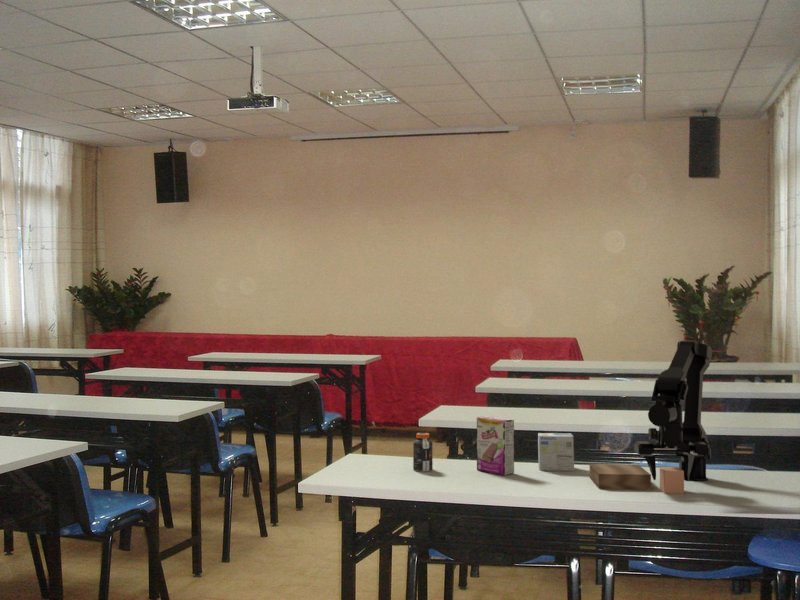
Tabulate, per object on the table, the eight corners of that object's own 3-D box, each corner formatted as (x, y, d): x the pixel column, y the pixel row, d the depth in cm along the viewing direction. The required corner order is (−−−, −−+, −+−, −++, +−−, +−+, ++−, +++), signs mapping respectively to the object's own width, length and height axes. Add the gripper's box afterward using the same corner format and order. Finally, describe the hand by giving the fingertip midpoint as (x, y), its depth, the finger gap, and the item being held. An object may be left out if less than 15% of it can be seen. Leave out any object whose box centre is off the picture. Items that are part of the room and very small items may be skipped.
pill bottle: (433, 472, 235) (433, 434, 235) (413, 472, 235) (413, 434, 235) (432, 468, 241) (431, 431, 241) (412, 468, 241) (412, 431, 241)
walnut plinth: (638, 478, 225) (638, 464, 225) (651, 489, 211) (650, 474, 211) (589, 477, 226) (589, 464, 226) (599, 488, 212) (598, 474, 212)
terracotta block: (678, 489, 211) (678, 467, 211) (684, 493, 206) (683, 471, 206) (659, 489, 212) (659, 467, 212) (664, 493, 207) (664, 470, 207)
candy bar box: (475, 470, 237) (475, 417, 237) (486, 468, 241) (486, 415, 241) (504, 476, 229) (504, 420, 229) (515, 473, 232) (514, 419, 233)
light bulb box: (572, 467, 242) (571, 432, 243) (574, 471, 236) (574, 436, 236) (537, 466, 243) (537, 432, 244) (539, 470, 237) (539, 435, 237)
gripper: (696, 418, 217) (697, 474, 217) (629, 418, 218) (629, 473, 218) (710, 424, 206) (711, 483, 205) (639, 423, 207) (639, 482, 207)
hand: (671, 480), depth 209 cm, fingers open, 9 cm apart
